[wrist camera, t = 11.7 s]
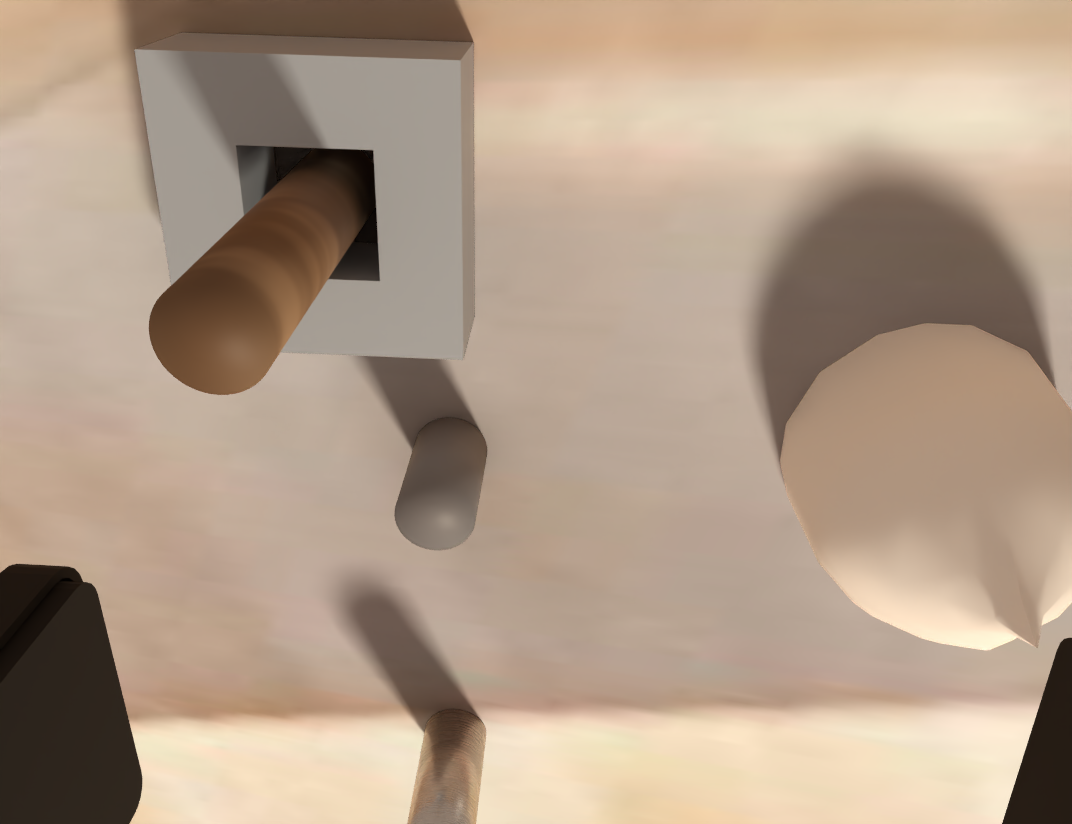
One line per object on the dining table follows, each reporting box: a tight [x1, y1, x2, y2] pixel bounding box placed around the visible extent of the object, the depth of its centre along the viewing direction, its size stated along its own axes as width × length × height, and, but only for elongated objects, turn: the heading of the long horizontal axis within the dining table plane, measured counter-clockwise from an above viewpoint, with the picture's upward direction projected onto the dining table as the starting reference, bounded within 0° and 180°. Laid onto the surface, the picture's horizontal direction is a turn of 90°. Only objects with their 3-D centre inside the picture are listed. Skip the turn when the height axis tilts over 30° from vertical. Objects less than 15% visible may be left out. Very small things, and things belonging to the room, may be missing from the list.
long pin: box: [149, 148, 376, 395], centre depth 30 cm, size 3×3×14 cm
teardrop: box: [780, 323, 1072, 650], centre depth 35 cm, size 11×11×12 cm
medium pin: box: [407, 709, 486, 824], centre depth 45 cm, size 3×3×8 cm
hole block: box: [134, 32, 475, 360], centre depth 34 cm, size 10×10×4 cm
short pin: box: [395, 418, 487, 550], centre depth 39 cm, size 3×3×5 cm
